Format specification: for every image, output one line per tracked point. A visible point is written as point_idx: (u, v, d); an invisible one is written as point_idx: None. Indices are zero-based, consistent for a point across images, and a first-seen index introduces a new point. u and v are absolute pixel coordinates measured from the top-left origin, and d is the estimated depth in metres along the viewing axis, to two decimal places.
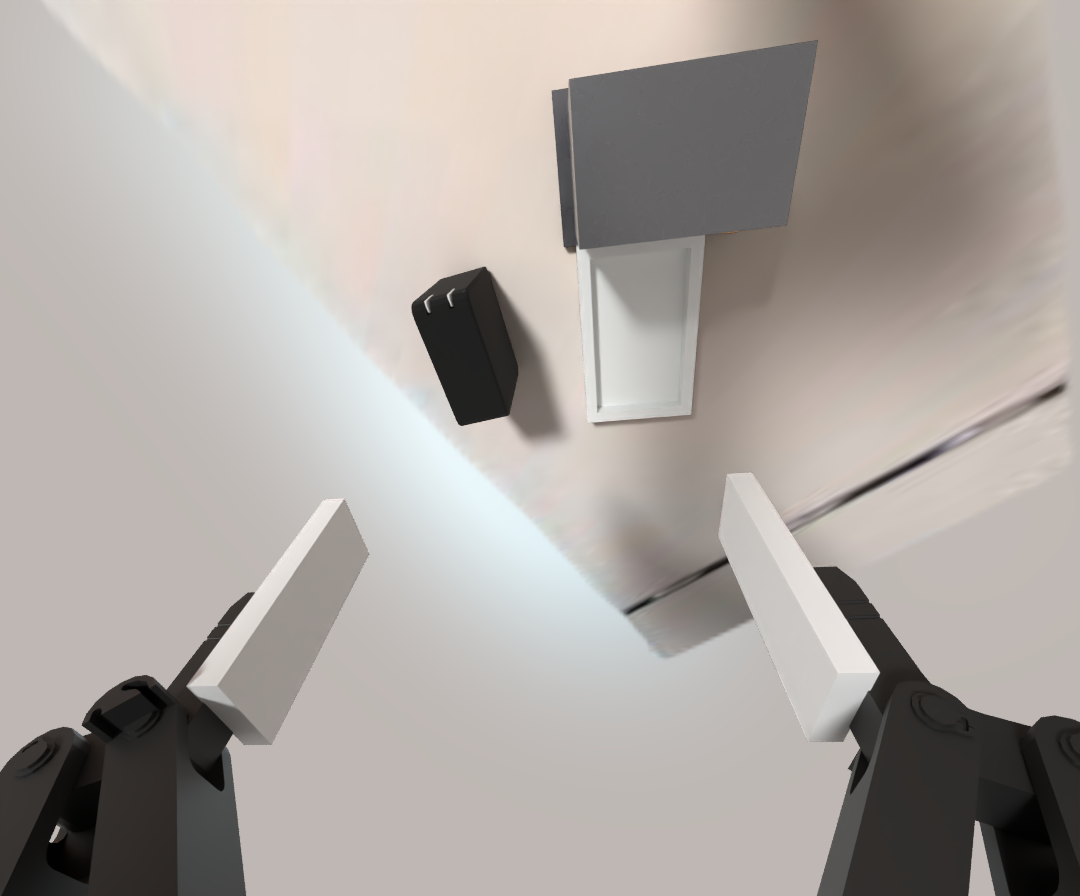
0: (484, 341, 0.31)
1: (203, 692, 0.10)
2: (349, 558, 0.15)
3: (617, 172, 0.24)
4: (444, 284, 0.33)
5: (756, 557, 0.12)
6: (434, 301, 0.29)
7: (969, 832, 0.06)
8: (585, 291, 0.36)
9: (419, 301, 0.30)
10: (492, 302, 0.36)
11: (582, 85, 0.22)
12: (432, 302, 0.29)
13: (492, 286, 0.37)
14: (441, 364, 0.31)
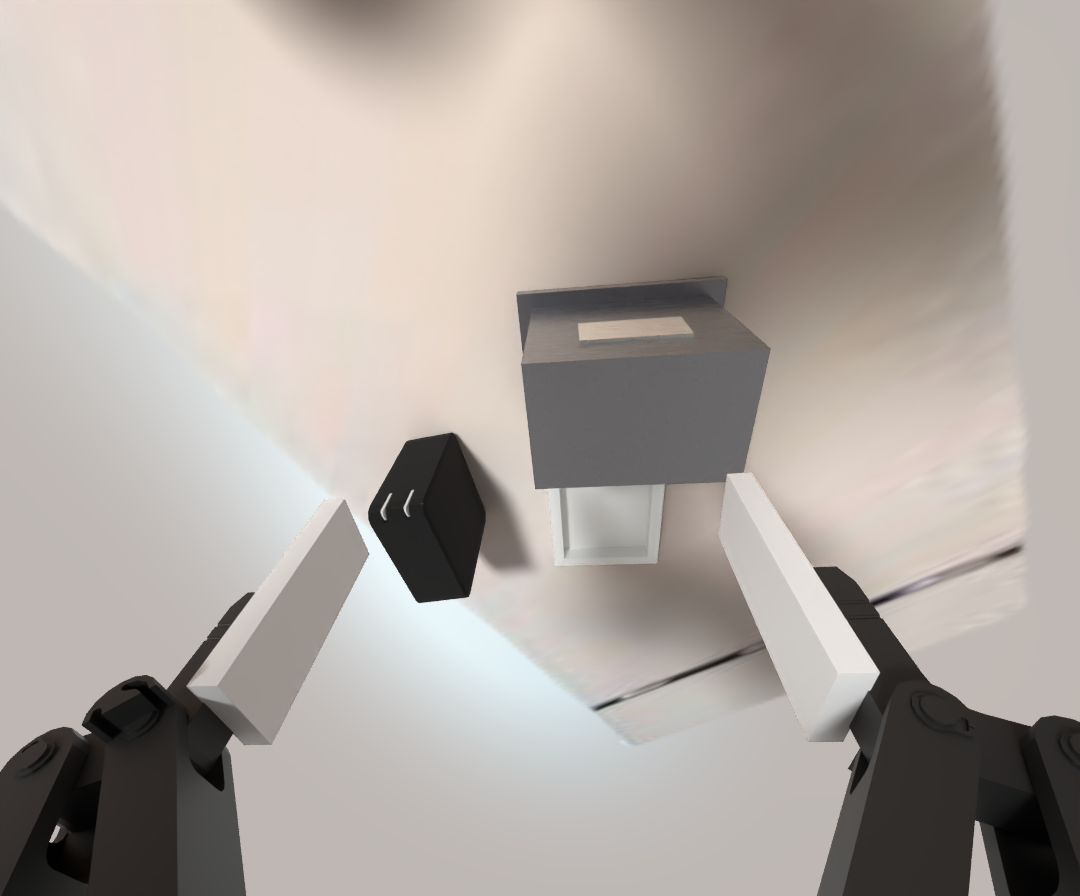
0: (443, 540, 0.30)
1: (203, 692, 0.10)
2: (349, 558, 0.15)
3: (572, 435, 0.24)
4: (406, 465, 0.33)
5: (756, 557, 0.12)
6: (391, 510, 0.29)
7: (969, 832, 0.06)
8: None
9: (376, 506, 0.29)
10: (457, 471, 0.36)
11: (535, 369, 0.22)
12: (389, 511, 0.29)
13: (458, 449, 0.37)
14: (399, 559, 0.31)
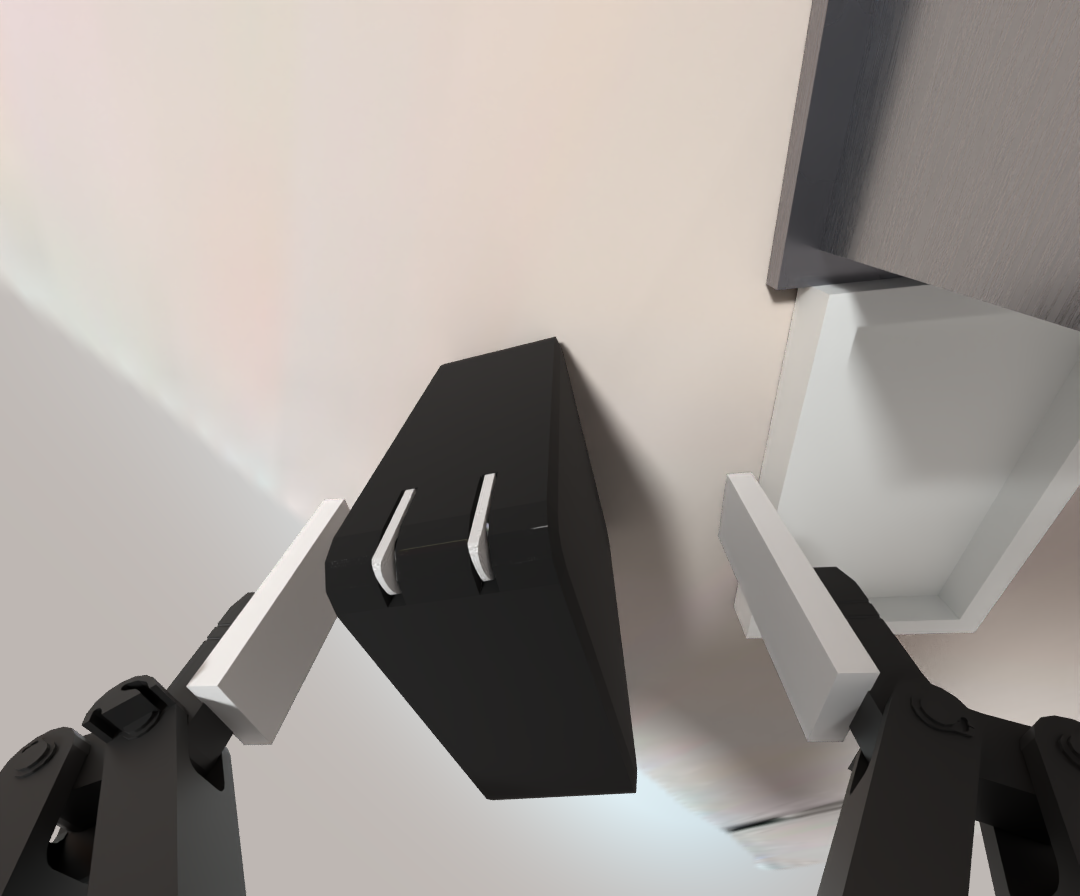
0: (596, 651, 0.09)
1: (203, 692, 0.10)
2: None
3: None
4: (451, 409, 0.11)
5: (756, 557, 0.12)
6: (415, 554, 0.07)
7: (969, 831, 0.06)
8: (820, 403, 0.14)
9: (357, 539, 0.08)
10: (576, 432, 0.14)
11: None
12: (407, 559, 0.07)
13: (569, 381, 0.15)
14: (444, 712, 0.09)
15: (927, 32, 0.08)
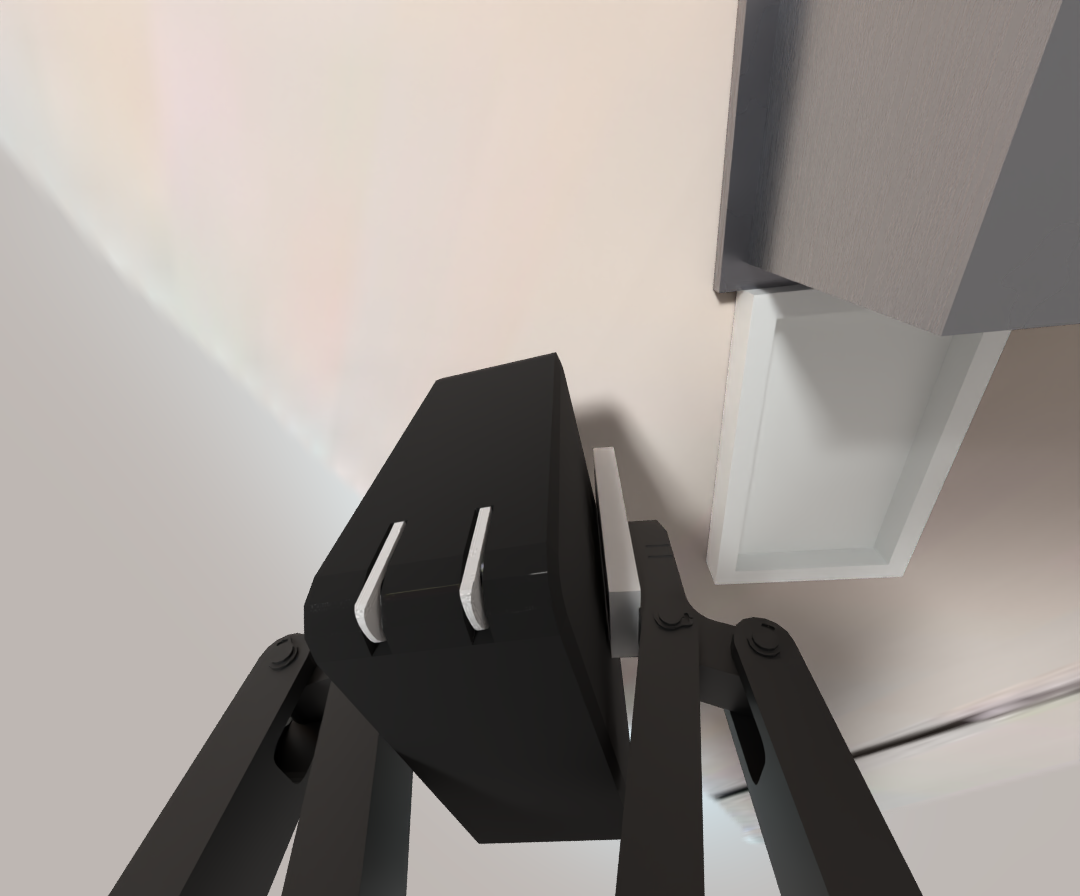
0: (598, 698, 0.08)
1: None
2: None
3: None
4: (446, 430, 0.11)
5: (599, 515, 0.14)
6: (403, 599, 0.07)
7: (698, 696, 0.08)
8: (756, 378, 0.18)
9: (340, 579, 0.07)
10: (576, 453, 0.13)
11: None
12: (393, 604, 0.07)
13: (569, 398, 0.14)
14: (433, 760, 0.09)
15: (792, 126, 0.13)
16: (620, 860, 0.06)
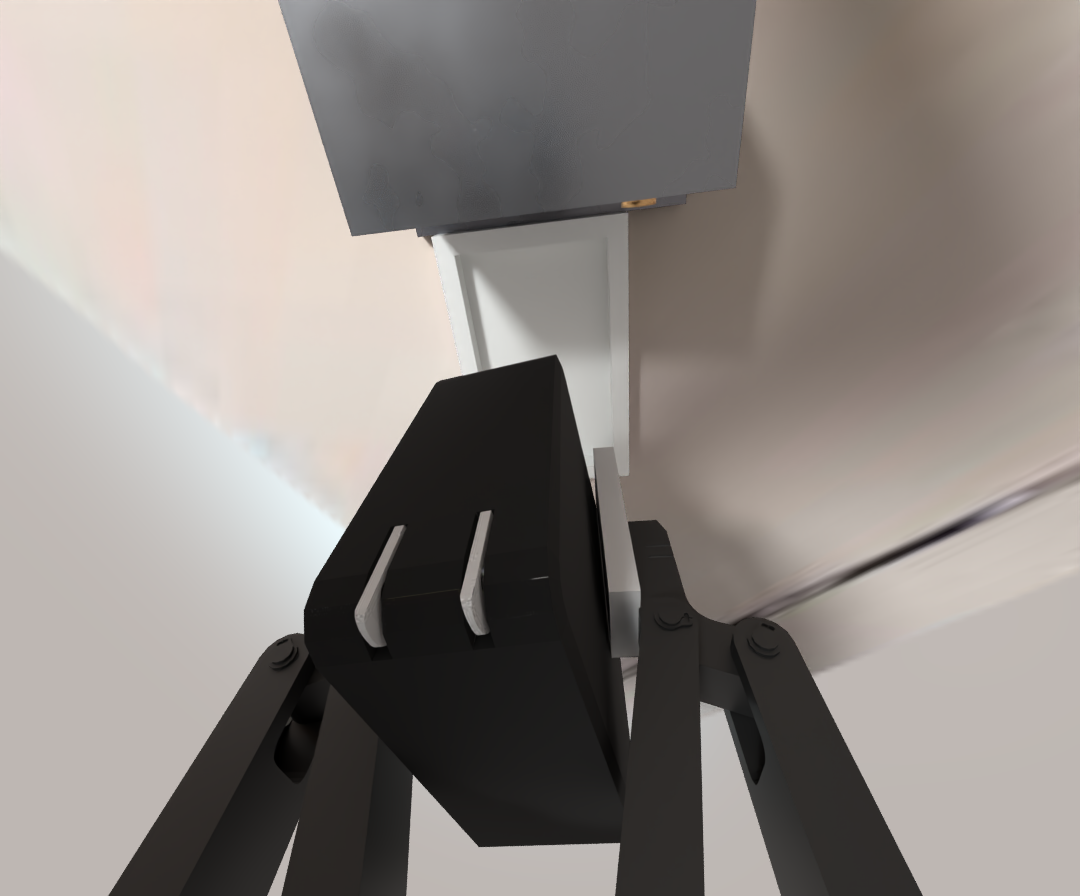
0: (599, 702, 0.08)
1: None
2: None
3: (387, 77, 0.12)
4: (446, 433, 0.11)
5: (599, 515, 0.14)
6: (403, 604, 0.07)
7: (698, 696, 0.08)
8: (456, 304, 0.24)
9: (340, 583, 0.07)
10: (577, 455, 0.13)
11: None
12: (393, 609, 0.07)
13: (569, 399, 0.14)
14: (433, 764, 0.09)
15: None
16: (620, 860, 0.06)
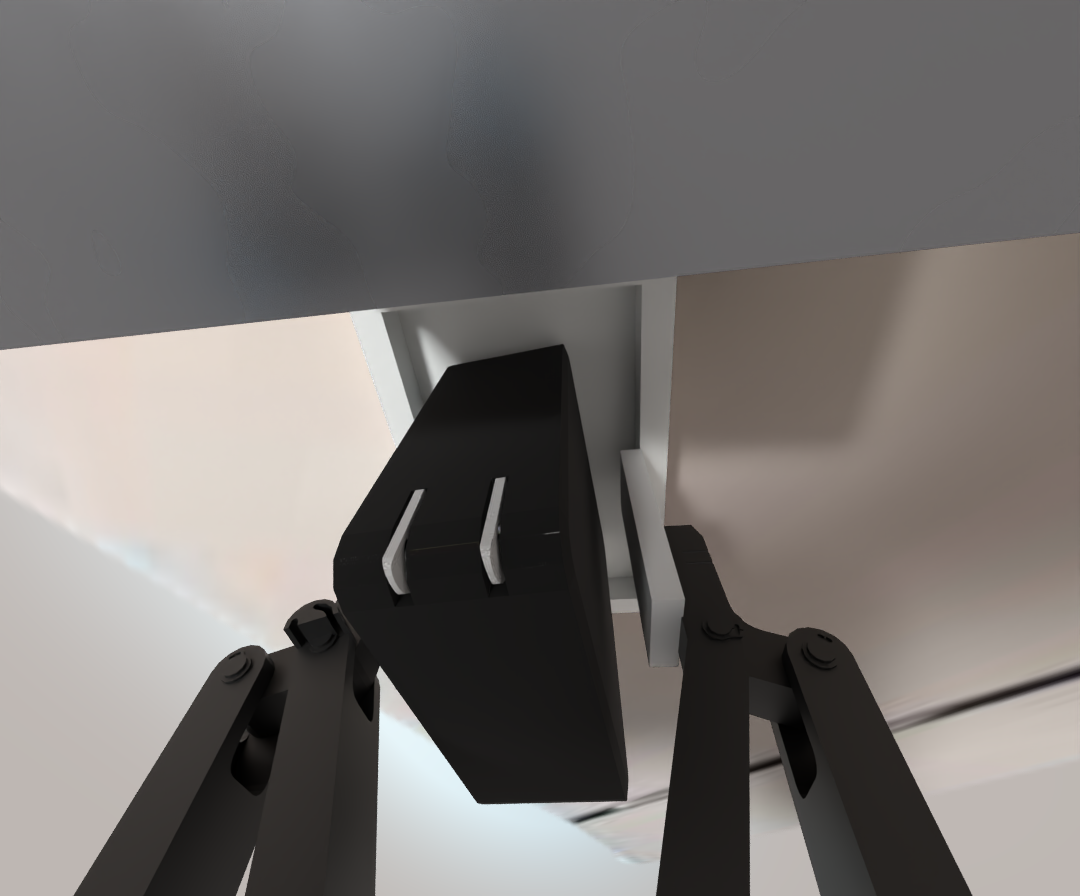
0: (598, 658, 0.09)
1: None
2: None
3: None
4: (460, 411, 0.11)
5: (630, 519, 0.14)
6: (425, 555, 0.07)
7: (747, 712, 0.08)
8: (390, 386, 0.15)
9: (367, 537, 0.08)
10: (580, 439, 0.14)
11: None
12: (417, 559, 0.07)
13: (574, 388, 0.15)
14: (442, 714, 0.09)
15: None
16: (660, 871, 0.06)
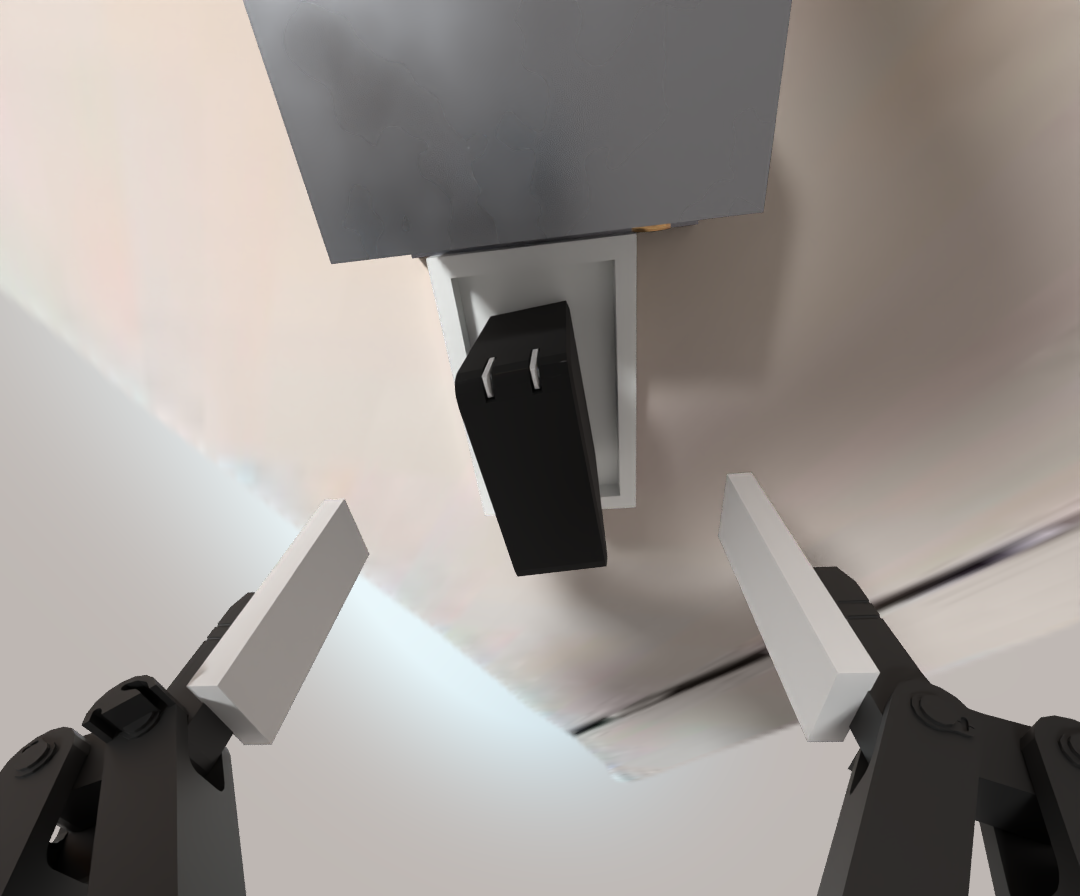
0: (586, 449, 0.16)
1: (203, 692, 0.10)
2: (349, 558, 0.15)
3: (369, 89, 0.10)
4: (505, 331, 0.19)
5: (756, 557, 0.12)
6: (501, 376, 0.15)
7: (970, 832, 0.06)
8: (452, 329, 0.22)
9: (470, 372, 0.15)
10: (577, 360, 0.21)
11: None
12: (497, 378, 0.15)
13: (573, 331, 0.23)
14: (501, 486, 0.17)
15: None
16: None
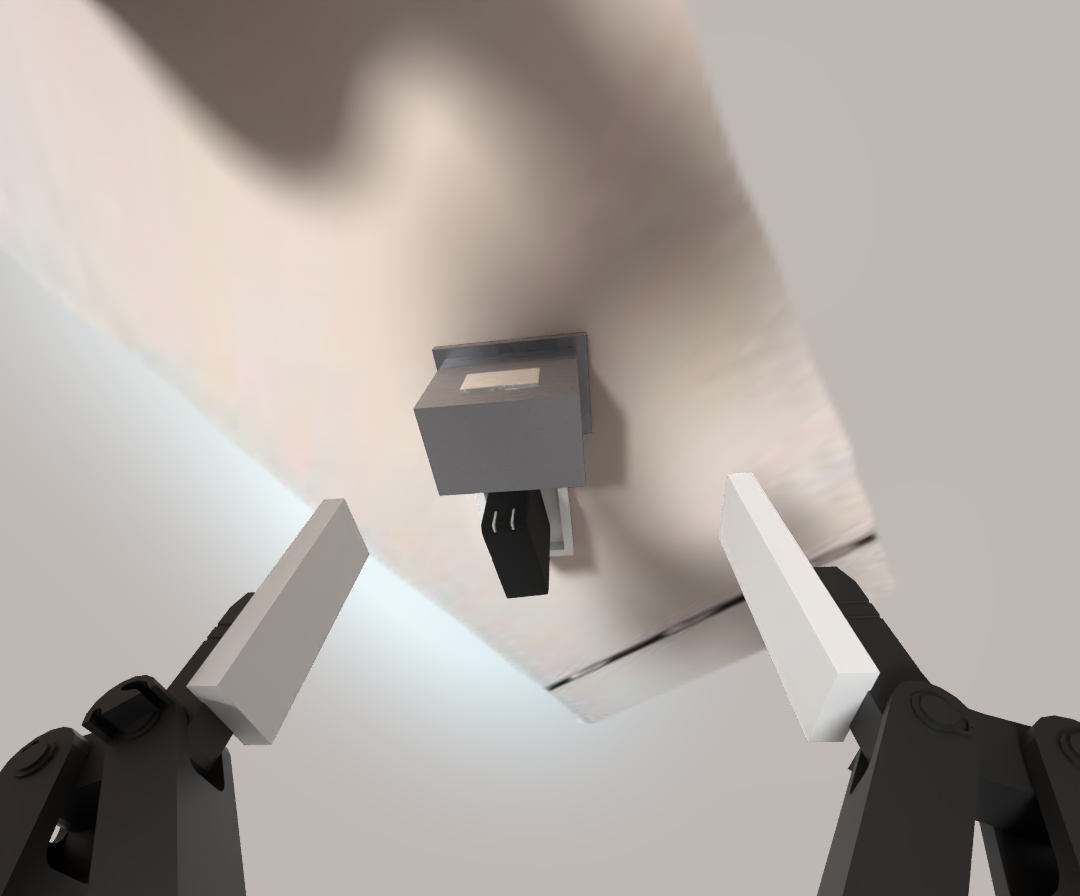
0: (535, 548, 0.39)
1: (203, 692, 0.10)
2: (349, 558, 0.15)
3: (458, 456, 0.33)
4: None
5: (756, 557, 0.12)
6: (500, 524, 0.38)
7: (969, 832, 0.06)
8: None
9: (487, 521, 0.38)
10: (536, 493, 0.44)
11: (423, 412, 0.31)
12: (498, 525, 0.38)
13: None
14: (500, 563, 0.40)
15: None
16: None
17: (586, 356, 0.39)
